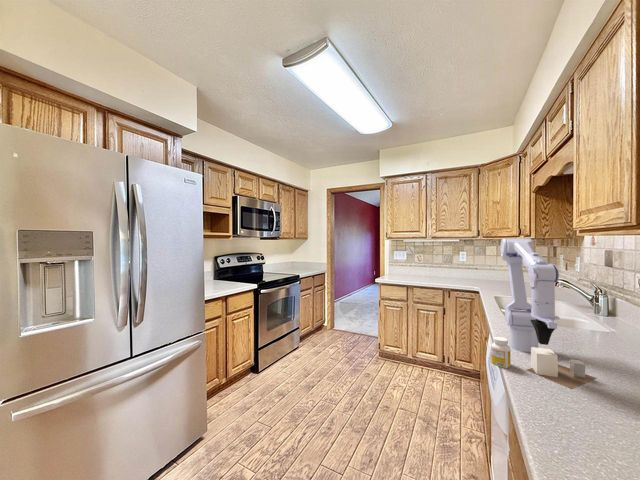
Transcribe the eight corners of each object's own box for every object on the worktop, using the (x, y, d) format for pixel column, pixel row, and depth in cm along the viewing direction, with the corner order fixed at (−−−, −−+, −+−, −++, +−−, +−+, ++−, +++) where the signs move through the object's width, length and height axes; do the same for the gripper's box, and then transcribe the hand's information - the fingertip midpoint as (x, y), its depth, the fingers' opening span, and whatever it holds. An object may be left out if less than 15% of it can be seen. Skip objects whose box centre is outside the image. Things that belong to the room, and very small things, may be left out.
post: (569, 373, 84) (569, 359, 84) (580, 375, 83) (580, 360, 83) (574, 377, 82) (574, 363, 82) (585, 379, 81) (585, 364, 81)
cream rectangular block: (531, 366, 89) (530, 346, 89) (550, 369, 87) (550, 349, 87) (537, 374, 84) (536, 353, 84) (557, 377, 82) (557, 355, 82)
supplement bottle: (502, 362, 94) (502, 335, 94) (514, 370, 89) (514, 341, 89) (488, 363, 94) (487, 335, 94) (498, 371, 89) (498, 341, 89)
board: (550, 364, 93) (550, 361, 93) (597, 381, 82) (597, 378, 82) (525, 372, 87) (525, 369, 87) (571, 392, 76) (571, 388, 76)
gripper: (570, 308, 77) (570, 355, 78) (549, 297, 91) (549, 337, 91) (540, 306, 80) (540, 351, 80) (523, 296, 94) (524, 334, 94)
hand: (543, 343), depth 86 cm, fingers closed
